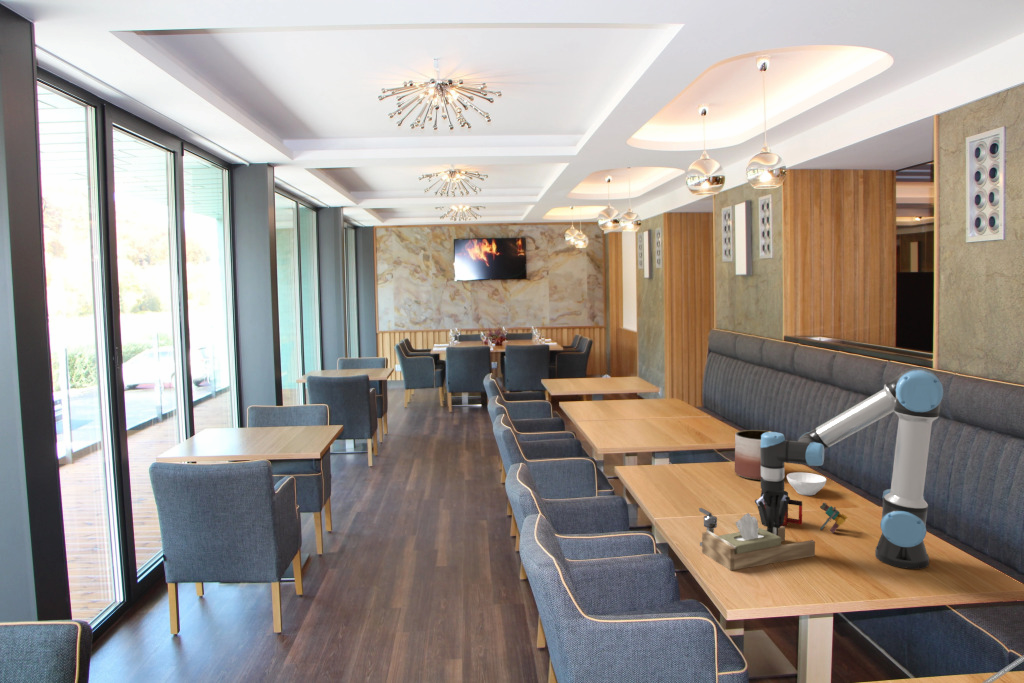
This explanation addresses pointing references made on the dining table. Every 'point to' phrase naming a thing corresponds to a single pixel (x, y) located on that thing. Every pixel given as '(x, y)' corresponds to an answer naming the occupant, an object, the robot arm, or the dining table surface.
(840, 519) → the binoculars
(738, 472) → the planter
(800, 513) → the mug
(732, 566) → the bay
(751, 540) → the tissue box
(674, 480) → the dining table surface
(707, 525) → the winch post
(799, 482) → the bowl
